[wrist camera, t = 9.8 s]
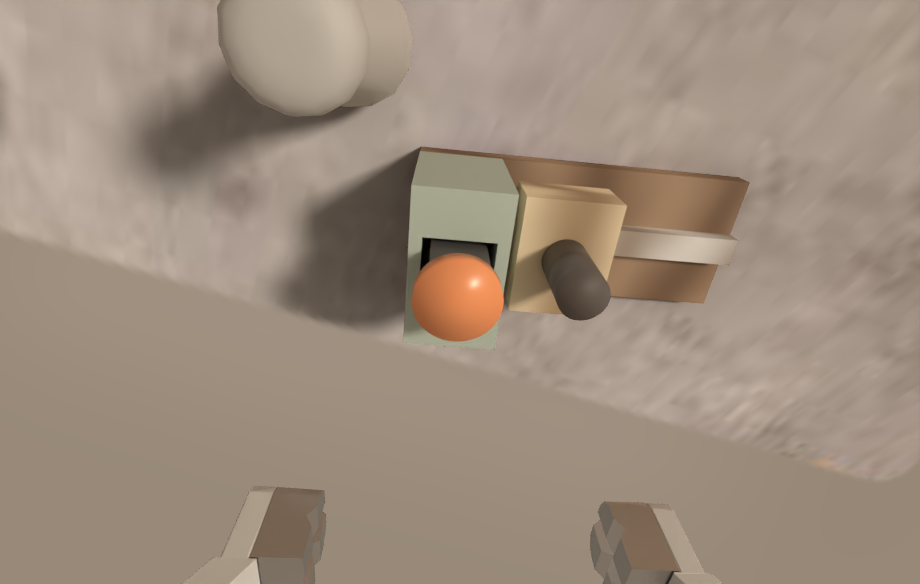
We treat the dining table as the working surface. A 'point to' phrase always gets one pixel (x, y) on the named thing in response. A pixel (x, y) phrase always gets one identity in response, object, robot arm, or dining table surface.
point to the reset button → (457, 291)
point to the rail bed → (651, 222)
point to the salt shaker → (315, 51)
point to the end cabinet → (458, 223)
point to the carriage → (563, 249)
